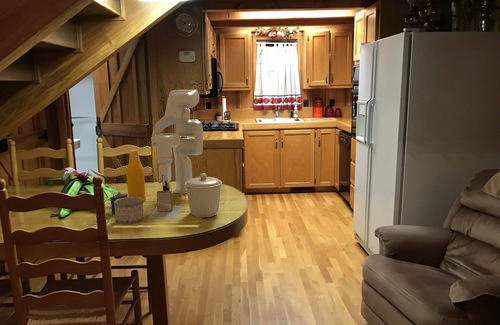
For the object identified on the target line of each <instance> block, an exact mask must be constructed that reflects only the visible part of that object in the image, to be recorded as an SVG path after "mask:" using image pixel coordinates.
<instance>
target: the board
mask: <svg viewBox="0 0 500 325" xmlns="http://www.w3.org/2000/svg"><path fill="white" fill-rule="evenodd" d="M183 209H184V205H173V210H172V212H158V209H157V206H156V207H155V208H154V209H153V210H152V212H151V213H150V215H148V217H147V219H148V220H162V219H164V220H167V219H168V220H169V219H172V220H175V219H176V220H177V219H178V217H179V215H180V214H181V212H182V210H183Z"/></svg>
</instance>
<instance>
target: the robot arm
mask: <svg viewBox="0 0 500 325" xmlns="http://www.w3.org/2000/svg"><path fill="white" fill-rule="evenodd" d="M199 102H200V94H199V91H198V90H197V89H173V90H171V91H169V94H168V98H167V101H166V107H165V111H164V112H165V113H164V116H162V117H161V118H160V119H159V120H158V121H156V124H154V126H153V129H152V134H151V144H152V146H153V147H154V148H156V159H157V160H156V163H157V164H158V172H157V173H158V174H157V175H158V183H159V184H161V183H162V191H171V190H170V189H171V188H170V181H171V180H172V177H173V176H172V163H173V155H174V168H175V186H176V187H175V188H174V189H173V193H175V194H180V195H184V194H185V193H187V188H186V186H185V182H187V181H188V180H190V179H192V178H193V175H192V174H193V170H192V169H193V168H192V160H191V159H190V157H189V156H201V155H202V154H203V151H204V134H203V133H204V128H203V127H204V126H203V123H202V122H201V121H200V120H191V111H190V109H193V108H194V107H196V106H197V105H198V103H199ZM172 125H175V132H174V133H172V132H170V133H169V132H163V130H164V129H166V128H168V127H170V126H172ZM180 137H183V138H180ZM185 137H187V138H185ZM190 137H191V138H190ZM185 195H186V194H185Z"/></svg>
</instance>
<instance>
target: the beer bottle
mask: <svg viewBox="0 0 500 325" xmlns="http://www.w3.org/2000/svg"><path fill="white" fill-rule="evenodd" d="M128 159H129V160H128V164H127V168H126V172H125V173H126V184H127V185H126V187H127V194H128V197H139V198H142V200H143V203H145V202H146V201H147V199H146V198H147V197H146V182H145V169H144V166H143V164H142V162H141V159H140V155H139V150H138V149H130V150H129V158H128Z"/></svg>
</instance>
